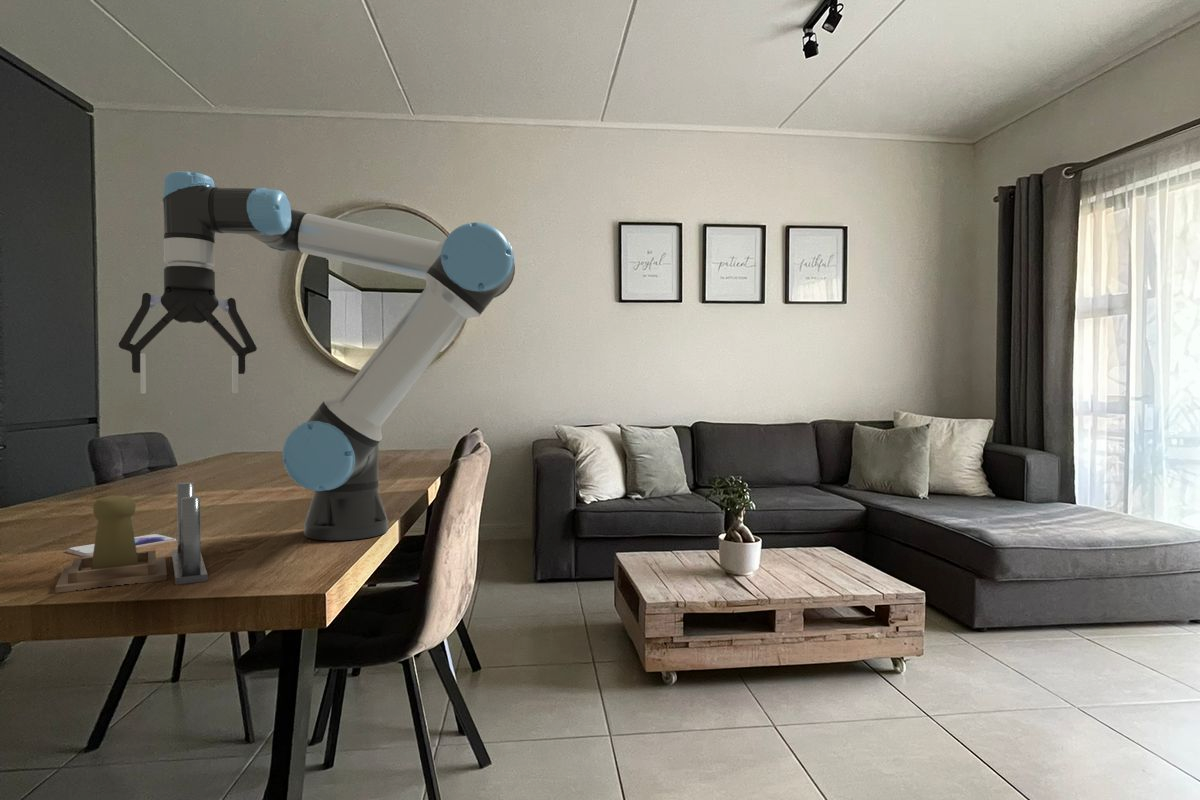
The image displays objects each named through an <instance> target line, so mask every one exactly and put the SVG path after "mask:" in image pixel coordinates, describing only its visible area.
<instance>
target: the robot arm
mask: <svg viewBox="0 0 1200 800" xmlns="http://www.w3.org/2000/svg"><path fill="white" fill-rule="evenodd" d="M163 180H164V181H163V182H164V183H163V196H162V198H161V199H162V203H163V232H164V233H163V262H164V264H166V265H167V266H165V268H164V269H163V294H162V295H156V294H155V295H154V294H150V293H148V292H144V293H142V297H141V304H140V307H139V309H138V310H137V312H136V313H135V315H134V317H133V318H132V321H131V322H130V324H129V326H128V327H127V329H126V330H125V332H124V334H123V336H122V337H121V339H120V341H119V342H118V347H119V348H120V349H121V350H125V351H128V352H129V353H130V354H131V370H132V373H133V374H134V373H135V374H136V373H137V374H140V379H139V380H140V383H139V384H140V394H142V395H143V394H147V362H146V361H147V359H146V357H147V356H146V353H141V352H142V350H144V348H146V347H147V345H149V344H150V343H151V342H152V340H154V339H155V338H157V336H158V335H159V334H160V333H161V332H162V331H163V330H164V329H165V328H167V326H168V325H169V324H170V323H171V322H172V321H173V320H174V321H175V322H178V323H184V324H185V323H193V324H202V323H205V322H206V323H207V324H208V325H209V326H210V327H211V328H212V329H213V330H214V332H216V333H217V334H218V335H219V337H220V338H221V339H223V341H224V342H225V343H226V344H227V345H228V346H229V347H230V349H232V350H233V352H234V353H235V354H236V355H231V393H232V394H239V375H244V374H245V373H246V357H247V355H249V354H252V353H254V352H256V351H257V349H258V347H257V345H256V344H255V342H254V340H253V338H252V337H251V335H250V332H249V331H248V329H247V327H246V325H245V324H244V322H243V321H244V320H242V318H241V316H240V314H239V313H238V309H237V303H236V302H237V301H236V299H235V298H233V297H229V298H226V299H225V298H224V299H223V298H222V299H217V296H216V275H215V273H216V272H215V271H214V270H213V269H212V268H214V267H215V266H216V258H215V257H216V247H215V243H216V242H215V239H216V238H215V236H216V234H218V233H219V234H237V235H242V234H243V235H248V236H249V237H252V238H254V239H256V240H258V241H259V242H261V243H263V244H265V246H268V247H269V248H271V249H273V250H277V251H280V252H281V251H282V252H295V253H302V254H305V255H310V256H314V257H315V256H316V257H320V258H324V259H329V260H334V261H339V262H343V263H347V264H348V263H349V264H353V265H357V266H362V267H366V268H370V269H375V270H380V271H385V272H388V273H389V272H390V273H394V274H398V275H403V276H408V277H411V278H416V279H421V280H425V284H426V285H425V288H424V289H423V291H422V292H421V293H420V294H419V296H418V297H417V298H416V300H415V301H414V302H413V303H412V305H411V306H409V308H408V309H407V310H406V312H405V313H404V314H403V316H402V317H401V318H400V319H399V321H398V322H397V323H396V324H395V325H394V327H393V328H392V329H391V331H389V333H388V335H387V336H385V338H384V340H383V341H382V342H381V343H380V344H379V346H378V347H377V348H376V349H375V350H374V351H373V353H372V354H371V356H370V357H369V359H368V360H367V361H366V362H365V363H364V364H363V366H362V367H361V369H359V371H358V372H357V373H356V375H354V377H353V378H352V380H350V382H349V383H348V385H347V386H346V387H345V389H344V390H343V391H342V392H341V394H340V395H339V396H334V397H326V398H325V399H324V400H323V401H322V403H321V404H320V405H319V406H318V407H317V408H316V410H315V411H314V413H312V415H311V416H310V417H309V418H308V420H307V421H305V422H303V423H302V424H301V425H298V426H297V427H296V428H294V429H293V430H292V431H291V432H290V433H289V434H288V436H287V437H286V439H285V441H284V444H283V447H282V455H281V456H282V463H283V466H284V469H285V472H287V474H288V476H289V477H290V478H291V480H292V481H293V482H295V483H296V484H297V485H298V486H300V487H302V488H304V489H306V490H309V491H310V490H311V491H313V496H312V499H311V502H310V504H309V509H308V511H307V514H306V517H305V520H304V523H303V535H304V537H306V538H308V539H311V540H316V541H317V540H319V541H348V540H349V541H350V540H361V539H367V538H373V537H378V536H380V535H384V534H387V532H388V531H389V522H388V521H389V520H388V516H387V513H386V509H385V507H384V504H383V500H382V498H381V496H380V491H379V444H380V442H381V441H382V439H383V435H382V425H383V424H384V423H385V422H386V420H387V419H389V416H390V415H391V414H392V413H393V411H394V410H395V409H396V407H397V406H398V405H399V404H400V402H401V401H402V400H403V399H404V398H405V396H406V395H407V394H408V393H409V391H410V390H411V389H412V387H413V386H414V385H415V383H416V382H417V381H418V380H419V379H420V377H422V375H423V374H424V372H425V371H426V369H428V367H429V366H430V365H431V363H432V362H433V361H434V360H435V358H436V357H437V356H438V355H439V353H440V352H441V351H442V350H443V348H444V347H445V346H446V345H447V343H449V341H450V339H452V337H453V336H454V335H455V333H456V332H457V331H458V329H459V328H460V327H461V326H462V324H463V323H464V322H465V321H466V320H467V319H469V318H477V317H480V316H481V315H482V313H483V312H484V311H485V310H486V308H487V307H488V306H489V305H490V303H491V302H492V301H493V300H494V299H495V298H497V297H500V296H502V295H503V294H504V293H505V292H506V291H507V290H508V289H509V288H510V286H511V284H512V283H513V281H514V277H515V273H516V266H515V265H516V264H515V254H514V250H513V247H512V244H511V243H510V241H509V240H508V238H507V237H506V236H505V235H504V234H503V233H502V232H501V231H500V230H499V229H497V228H496V227H494V226H492V225H489V224H487V223H483V222H469V223H465V224H462V225H460V226H458V227H456V228H455V229H453V230H452V231H451V232H450V233H449V234H448V236H447V237H446V239H444V240H442V241H438V240H434V239H427V238H423V237H420V236H419V237H418V236H414V235H409V234H406V233H401V232H396V231H392V230H391V231H390V230H387V229H384V228H383V229H382V228H377V227H373V226H368V225H364V224H360V223H355V222H350V221H346V220H343V219H342V220H341V219H337V218H332V217H327V216H323V215H319V214H314V213H309V212H304V211H299V210H295V209H292V208H291V203H290V201H289V200H288V196H287V194H286V193H284V192H283V191H282V190H279V189H271V188H266V187H257V188H252V187H251V188H247V187H246V188H244V187H242V188H240V187H239V188H238V187H217V186H215V181H214V180H213V178H212V177H211V176H208V175H206V174H204V173H200V172H199V173H198V172H192V171H191V172H190V171H185V170H184V171H183V170H181V171H180V170H178V171H172V172H169V173H167V174H166V176H165V177H164V179H163ZM157 304H161V305H162V307H164V309H165V310H166V311H167V313H165V314H164V315H163V316H162V317H161V318H160V319H159V321H157V322H156V324H154V325H153V327H151V328H150V329H149V331H147V332H146V333H145V334H144V335H143V336H141V338H140V339H139V340H138V341H137V342H136V343H135V344H132V343H131V341H132V340H133V338H134V336H136V333H137V332H138V330H139V328H140V326H141V325H142V323H143V322H144V320H145V318H146V317H147V315H148V313H149V310H150V309H154V308H155V307H156V306H157ZM218 307H220V308H222V310H223V311H224V312H226V313H228V316H229V318H230V320H231V322H232V323H233V325H234V327H235V329H236V331H237V333H238V335H239V336H240V338H241V340H242V342H243V344H244V345H245V346H244V347H243V346H242V345H241V344H240V343H239V342H238V341H237V339H236V338H234V336H233V335H231V333H230V332H229V331H228V330H227V329H226V328H225V327H224V325H222V323H220V321H219V320H218V319H217V317H216V316H215V315H213V312H214V311H215V310H216V309H217V308H218Z"/></svg>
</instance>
